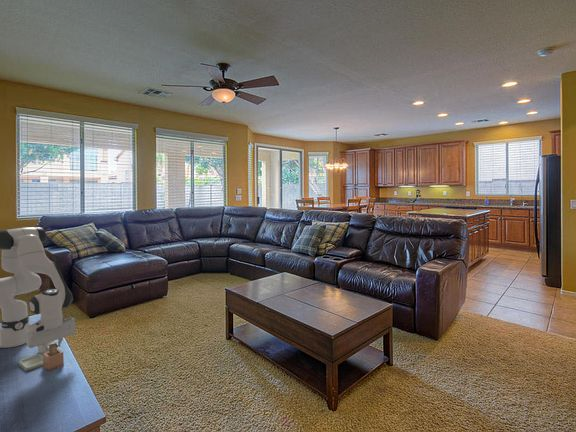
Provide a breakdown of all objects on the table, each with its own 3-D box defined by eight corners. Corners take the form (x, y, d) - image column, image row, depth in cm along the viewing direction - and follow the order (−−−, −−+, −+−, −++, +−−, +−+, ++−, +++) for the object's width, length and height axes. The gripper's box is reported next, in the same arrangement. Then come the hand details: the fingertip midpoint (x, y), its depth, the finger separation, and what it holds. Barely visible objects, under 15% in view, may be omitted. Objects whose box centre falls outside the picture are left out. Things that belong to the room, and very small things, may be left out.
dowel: (48, 365, 157) (48, 343, 156) (55, 362, 160) (55, 341, 159) (51, 366, 156) (50, 345, 155) (58, 364, 158) (57, 343, 157)
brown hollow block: (43, 367, 157) (43, 353, 156) (58, 361, 162) (57, 348, 162) (48, 371, 153) (48, 357, 153) (63, 365, 159) (63, 352, 158)
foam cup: (44, 355, 168) (43, 332, 167) (30, 353, 170) (29, 330, 169) (60, 347, 177) (59, 324, 176) (47, 345, 179) (46, 323, 178)
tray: (18, 363, 159) (17, 360, 159) (39, 356, 167) (39, 353, 167) (26, 371, 153) (26, 368, 153) (48, 363, 160) (48, 360, 160)
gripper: (72, 314, 166) (73, 339, 167) (24, 327, 150) (25, 355, 151) (77, 316, 163) (78, 342, 164) (29, 331, 146) (30, 359, 147)
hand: (53, 348), depth 157 cm, fingers closed on dowel, 3 cm apart
